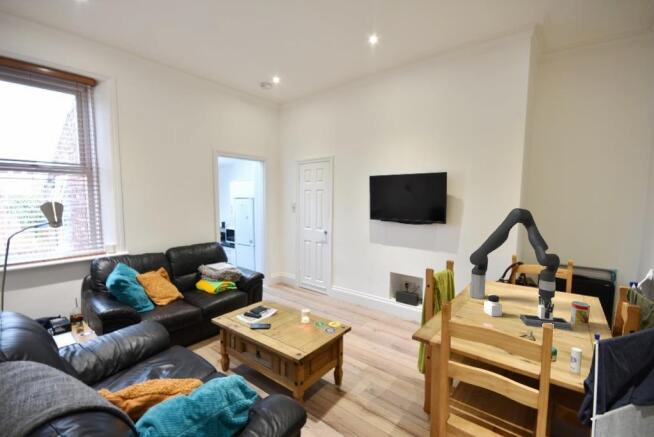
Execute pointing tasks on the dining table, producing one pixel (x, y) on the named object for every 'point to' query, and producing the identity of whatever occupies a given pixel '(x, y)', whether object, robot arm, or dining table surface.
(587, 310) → the canned food
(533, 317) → the grey rectangular tray
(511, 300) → the dining table surface
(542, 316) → the block
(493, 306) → the medicine bottle
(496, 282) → the dining table surface
